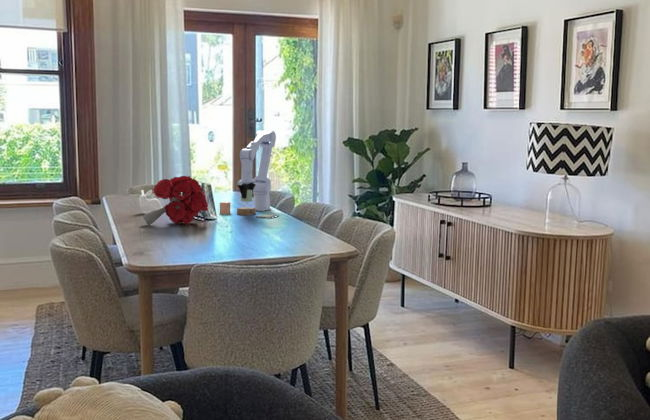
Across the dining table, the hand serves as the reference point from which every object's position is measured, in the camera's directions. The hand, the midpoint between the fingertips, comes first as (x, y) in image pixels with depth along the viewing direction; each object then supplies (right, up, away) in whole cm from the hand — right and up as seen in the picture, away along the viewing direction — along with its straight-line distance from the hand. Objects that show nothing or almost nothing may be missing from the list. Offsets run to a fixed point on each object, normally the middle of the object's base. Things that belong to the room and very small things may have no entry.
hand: (246, 197), depth 338 cm
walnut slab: (0, -9, +1) cm, 9 cm away
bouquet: (-29, -13, -38) cm, 49 cm away
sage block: (0, -2, 0) cm, 2 cm away
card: (+12, -10, -6) cm, 17 cm away
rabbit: (-50, -8, -6) cm, 51 cm away
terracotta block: (-11, -8, +1) cm, 14 cm away
